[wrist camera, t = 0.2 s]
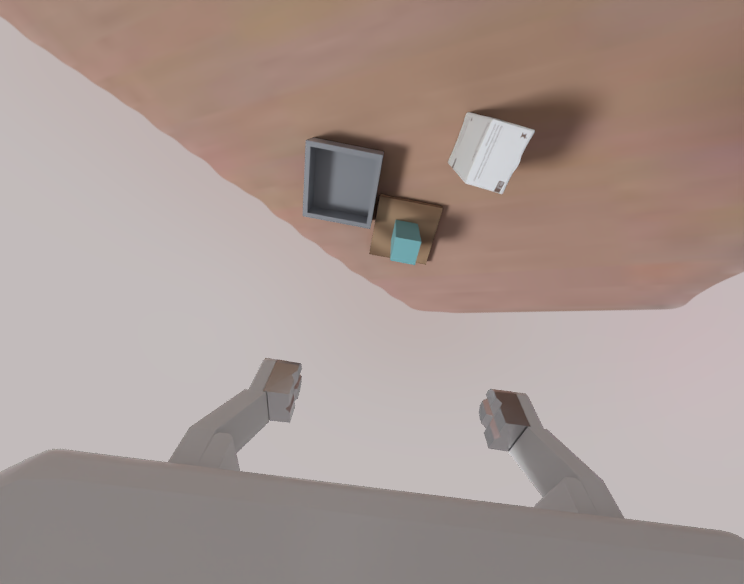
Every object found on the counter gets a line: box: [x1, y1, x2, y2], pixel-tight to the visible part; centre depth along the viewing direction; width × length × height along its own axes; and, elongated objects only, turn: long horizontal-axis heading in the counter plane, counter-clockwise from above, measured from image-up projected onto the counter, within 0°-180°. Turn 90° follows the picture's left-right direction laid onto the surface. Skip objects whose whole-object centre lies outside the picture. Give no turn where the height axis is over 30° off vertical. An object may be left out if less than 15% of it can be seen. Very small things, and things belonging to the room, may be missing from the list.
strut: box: [390, 220, 421, 265], centre depth 53 cm, size 4×4×9 cm
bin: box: [303, 137, 384, 229], centre depth 52 cm, size 13×13×5 cm
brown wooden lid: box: [369, 194, 443, 265], centre depth 56 cm, size 12×12×5 cm
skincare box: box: [448, 112, 535, 194], centre depth 43 cm, size 8×6×15 cm
